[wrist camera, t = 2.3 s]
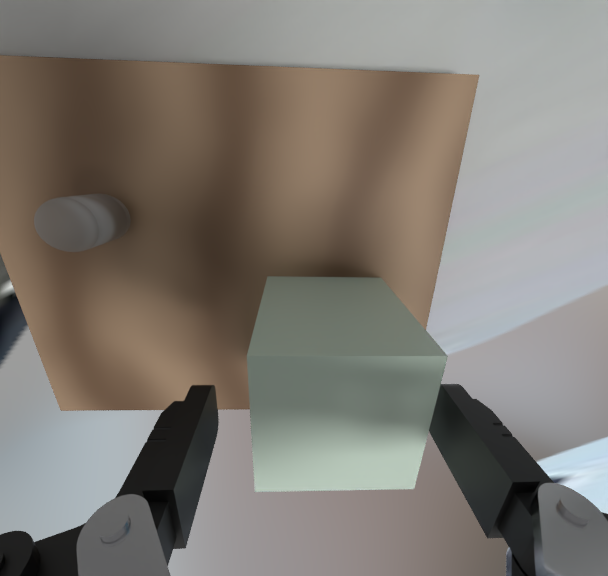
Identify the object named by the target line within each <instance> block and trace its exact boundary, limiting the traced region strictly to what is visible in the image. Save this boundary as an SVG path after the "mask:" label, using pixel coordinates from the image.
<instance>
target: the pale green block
mask: <svg viewBox="0 0 608 576" xmlns="http://www.w3.org/2000/svg"><path fill="white" fill-rule="evenodd" d="M447 357H448V356H447V355H446V354H445V352H444V351H443V350H442V349H441V348H440V346H439V345H438V344H437V343H436V342H435V341H434V339H433V338H432V337H431V336H430V335H429V334H428V332H427V331H426V330H425V329H424V328H423V326H422V325H421V324H420V323H419V322H418V321H417V319H416V318H415V317H414V316H413V315H412V313H411V312H410V311H409V310H408V309H407V308H406V306H405V305H404V304H403V303H402V302H401V300H400V299H399V298H398V297H397V296H396V295H395V293H394V292H393V291H392V290H391V289H390V288H389V286H388V285H387V284H386V283H385V282H384V280H383V279H382V278H370V277H283V276H267V280H266V284H265V288H264V292H263V295H262V299H261V303H260V307H259V311H258V315H257V318H256V322H255V326H254V330H253V334H252V338H251V341H250V345H249V349H248V353H247V369H248V385H249V402H250V418H251V434H252V450H253V466H254V467H253V468H254V484H255V492H272V491H273V492H274V491H326V490H377V489H378V490H380V489H381V490H382V489H414V487H415V483H416V479H417V476H418V472H419V468H420V464H421V460H422V455H423V452H424V448H425V444H426V440H427V436H428V432H429V428H430V424H431V420H432V416H433V412H434V408H435V404H436V400H437V396H438V392H439V388H440V385H441V381H442V376H443V373H444V369H445V365H446V361H447Z"/></svg>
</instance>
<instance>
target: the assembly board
mask: <svg viewBox="0 0 608 576" xmlns="http://www.w3.org/2000/svg"><path fill="white" fill-rule="evenodd" d="M478 79H479V75H469V74H444V73H420V72H395V71H371V70H347V69H322V68H298V67H273V66H249V65H224V64H200V63H176V62H151V61H127V60H102V59H78V58H53V57H29V56H5V55H0V253H1V256H2V258H3V261H4V264H5V266H6V269H7V272H8V274H9V277H10V279H11V282H12V285H13V287H14V290H15V292H16V295H17V298H18V300H19V303H20V305H21V308H22V311H23V313H24V316H25V318H26V321H27V324H28V326H29V329H30V332H31V334H32V336H33V339H34V342H35V345H36V347H37V350H38V352H39V355H40V357H41V360H42V363H43V365H44V368H45V371H46V373H47V376H48V378H49V381H50V384H51V386H52V389H53V392H54V394H55V396H56V399H57V402H58V404H59V407H60V410H61V411H62V410H63V411H69V410H70V411H71V410H72V411H73V410H165V409H166V408H167V407H168V406H169V405H170V404H172V403H173V402H174V401H184V400H185V397H186V395H187V393H188V391H189V389H190V387H191V386H192V385H214V386H215V389H216V399H217V408H218V409H250V402H249V385H248V369H247V353H248V349H249V345H250V341H251V338H252V334H253V330H254V326H255V322H256V318H257V315H258V311H259V307H260V303H261V299H262V295H263V292H264V288H265V284H266V280H267V276H283V277H370V278H382V279H383V280H384V282H385V283H386V284H387V285H388V286H389V288H390V289H391V290H392V291H393V292H394V293H395V295H396V296H397V297H398V298H399V299H400V300H401V302H402V303H403V304H404V305H405V306H406V308H407V309H408V310H409V311H410V312H411V313H412V315H413V316H414V317H415V318H416V319H417V321H418V322H419V323H420V324H421V325H422V326H423V328H424V329H425V330H426V326H427V322H428V317H429V312H430V307H431V303H432V298H433V293H434V288H435V283H436V279H437V274H438V269H439V264H440V260H441V255H442V250H443V245H444V241H445V236H446V231H447V226H448V222H449V217H450V212H451V207H452V202H453V198H454V193H455V188H456V183H457V179H458V174H459V169H460V164H461V160H462V155H463V150H464V145H465V141H466V136H467V131H468V126H469V121H470V117H471V112H472V107H473V102H474V98H475V93H476V88H477V83H478Z"/></svg>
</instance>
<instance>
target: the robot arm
mask: <svg viewBox="0 0 608 576" xmlns="http://www.w3.org/2000/svg"><path fill="white" fill-rule="evenodd" d="M217 431H218V408H217V399H216V389H215V386H214V385H192V386H191V387H190V389H189V391H188V393H187V395H186V397H185V400H184V401H174V402H173V403H172V404H170V405H169V406H168V407H167V408H166V409H165V410H164V411H163V412H162V413H161V415H160V417H159V419H158V421H157V422H156V424H155V426H154V430H152V432H151V434H150V436H149V437H148V440H147V442H146V443H145V445H144V447H143V448H142V450H141V452H140V454H139V456H138V458H137V460H136V461H135V464H134V465H133V467H132V469H131V471H130V473H129V474H128V476H127V478H126V480H125V482H124V484H123V486H122V488H121V489H120V491H119V493H118V494H117V496H116V498H115V499H113V500H111V501H109V502H107V503H106V504H105V505H103V506H102V507H101V508H99V509H98V510H97V511H96V512H95V513H94V514H93V515H92V516H91V517H90V519H89V520H88V521H87V522H86V523H85V524H83V525H81V526H78V527H76V528H74V529H71V530H68V531H65V532H63V533H59V534H56V535H54V536H51V537H48V538H45V539H42V540H39V541H37V542H34V541H33V539H32V538H31V536H30V535H29V534H28V533H26V532H23V531H12V532H8V533H4V534H1V535H0V576H170V573H169V570H168V563H169V560H170V557H171V554H172V550H173V549H180V548H186V545H187V541H188V538H189V534H190V530H191V527H192V523H193V520H194V516H195V512H196V509H197V505H198V502H199V498H200V494H201V491H202V487H203V484H204V480H205V476H206V473H207V469H208V465H209V462H210V458H211V455H212V451H213V448H214V444H215V440H216V437H217ZM429 431H430V434H431V436H432V437H433V440H434V441H435V443H436V445H437V447H438V448H439V450H440V452H441V454H442V456H443V458H444V460H445V461H446V463H447V465H448V467H449V469H450V470H451V472H452V474H453V476H454V478H455V480H456V481H457V483H458V485H459V487H460V489H461V491H462V493H463V494H464V496H465V498H466V500H467V502H468V504H469V505H470V507H471V509H472V511H473V513H474V515H475V516H476V518H477V520H478V522H479V524H480V526H481V527H482V529H483V531H484V533H485V535H486V536H487V538H504V539H505V541H506V542H507V544H508V546H509V548H508V550H507V554H506V576H608V514H606V513H602V512H600V510H599V509H598V508H597V507H596V506H595V505H594V504H593V503H591V502H590V501H589V500H588V499H586V498H585V497H584V496H582V495H581V494H579V493H578V492H576V491H574V490H572V489H570V488H568V487H566V486H563V485H560V484H556V483H554V482H553V481H552V480H551V479H550V478H549V476H548V475H547V474H546V473H545V472H544V471H543V470H542V468H541V467H540V466H539V465H538V464H537V463H536V461H535V460H534V459H533V458H532V457H531V456H530V455H529V453H528V452H527V451H526V450H525V449H524V448H523V446H522V445H521V444H520V443H519V442H518V440H517V439H516V438H515V437H513V436H512V434H511V432H510V431H509V430H508V429H507V428H506V427H505V426H503V424H502V422H501V421H500V420H499V418H498V417H497V416H496V415H495V414H494V413H493V411H491V410H490V409H489V408H488V407H486V406H485V405H484V404H482V403H481V402H479V401H478V400H477V399H472V398H471V397H470V395H469V394H468V393H467V392H466V390H465V389H464V388H463V387H462V386H461V385H459V384H441V385H440V388H439V392H438V396H437V400H436V404H435V408H434V412H433V416H432V420H431V424H430V428H429Z"/></svg>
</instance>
